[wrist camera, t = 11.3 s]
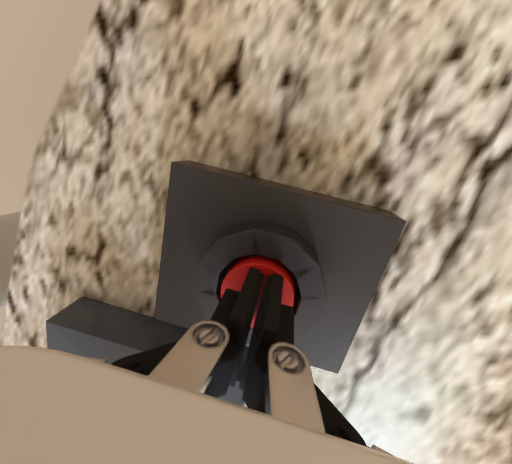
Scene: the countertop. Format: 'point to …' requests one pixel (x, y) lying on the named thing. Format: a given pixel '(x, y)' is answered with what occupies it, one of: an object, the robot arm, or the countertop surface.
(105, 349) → the control panel
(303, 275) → the switch block
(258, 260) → the power button
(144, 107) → the countertop surface
